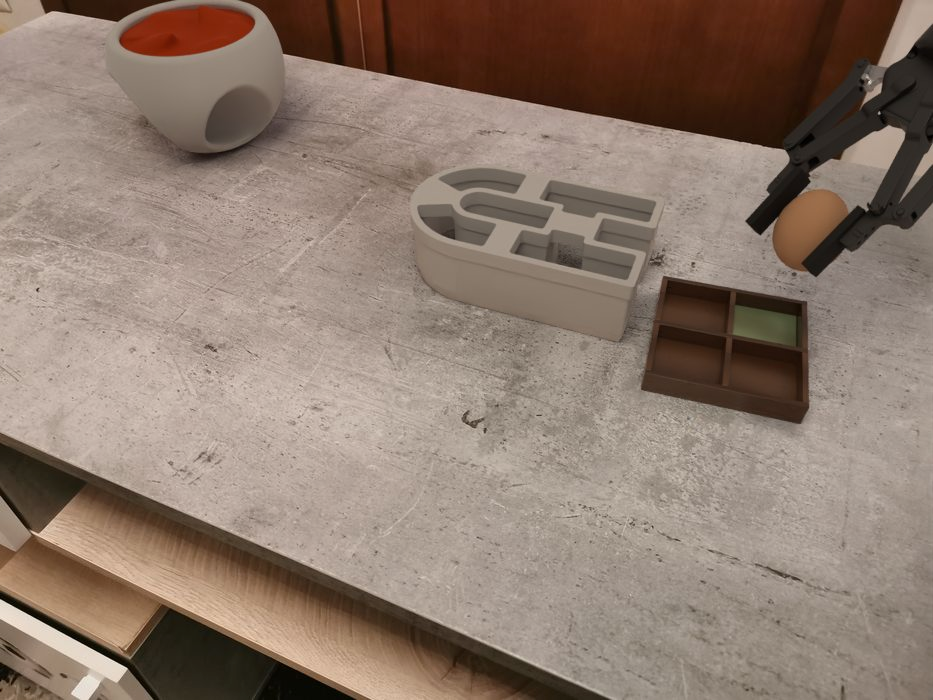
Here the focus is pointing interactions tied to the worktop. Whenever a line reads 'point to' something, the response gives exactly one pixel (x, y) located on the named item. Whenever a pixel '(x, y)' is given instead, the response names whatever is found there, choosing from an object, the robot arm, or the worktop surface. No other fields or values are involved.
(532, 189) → the grey compartment organizer
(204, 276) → the worktop surface
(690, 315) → the compartment tray
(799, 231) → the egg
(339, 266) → the worktop surface
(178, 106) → the pot
